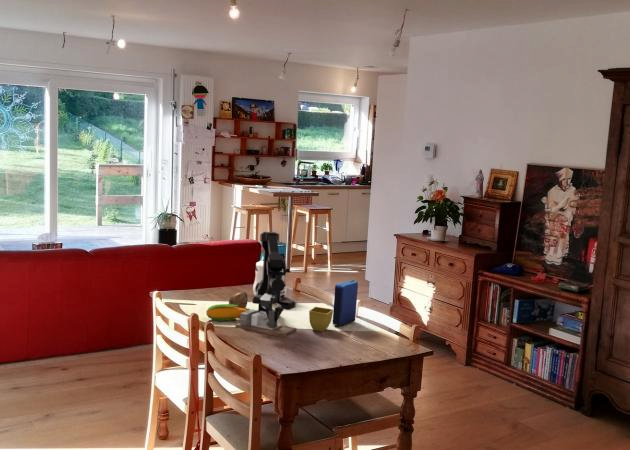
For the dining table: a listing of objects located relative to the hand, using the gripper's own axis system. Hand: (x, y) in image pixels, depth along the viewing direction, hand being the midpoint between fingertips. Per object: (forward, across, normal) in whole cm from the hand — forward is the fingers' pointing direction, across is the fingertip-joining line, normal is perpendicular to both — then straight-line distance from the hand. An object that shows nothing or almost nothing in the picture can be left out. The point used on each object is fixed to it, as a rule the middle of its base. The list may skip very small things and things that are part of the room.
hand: (272, 321), depth 301 cm
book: (+4, +22, +29) cm, 36 cm away
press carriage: (+3, -3, 0) cm, 4 cm away
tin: (+4, -30, +17) cm, 34 cm away
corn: (+4, -24, +2) cm, 25 cm away
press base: (+4, -4, 0) cm, 5 cm away
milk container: (+4, -30, +48) cm, 57 cm away
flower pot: (+4, +16, +14) cm, 22 cm away
